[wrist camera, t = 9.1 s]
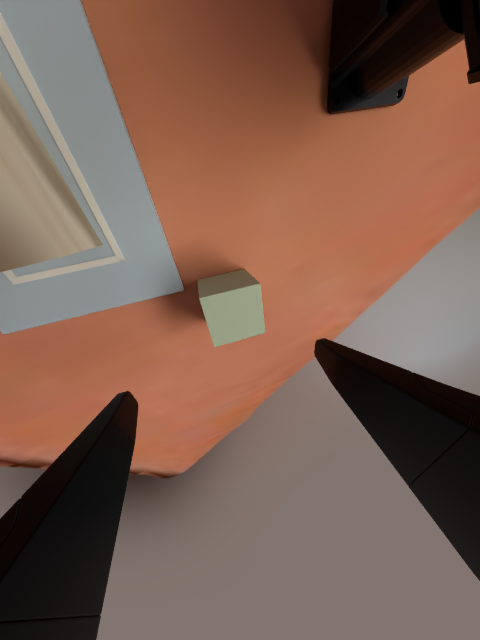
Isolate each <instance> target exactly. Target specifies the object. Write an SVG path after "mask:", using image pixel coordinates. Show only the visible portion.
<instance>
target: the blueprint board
mask: <svg viewBox="0 0 480 640" xmlns="http://www.w3.org/2000/svg"><path fill="white" fill-rule="evenodd" d="M0 71H1V73H2V75H3V76H4V78H5V80H6V82H7V83H8V85H9V87H10V88H11V90H12V92H13V93H14V95H15V97H16V98H17V100H18V102H19V104H20V105H21V107H22V109H23V110H24V112H25V114H26V115H27V117H28V119H29V121H30V122H31V124H32V126H33V127H34V129H35V131H36V132H37V134H38V136H39V137H40V139H41V141H42V143H43V144H44V146H45V148H46V149H47V151H48V153H49V154H50V156H51V158H52V160H53V161H54V163H55V165H56V166H57V168H58V170H59V171H60V173H61V175H62V177H63V178H64V180H65V182H66V183H67V185H68V187H69V188H70V190H71V192H72V193H73V195H74V197H75V199H76V200H77V202H78V204H79V205H80V207H81V209H82V210H83V212H84V214H85V216H86V217H87V219H88V221H89V222H90V224H91V226H92V227H93V229H94V231H95V232H96V234H97V236H98V238H99V239H100V241H101V243H102V244H103V245H101V246H98V247H95V248H91V249H88V250H84V251H81V252H77V253H74V254H70V255H67V256H63V257H59V258H55V259H51V260H47V261H43V262H40V263H36V264H32V265H28V266H24V267H20V268H16V269H12V270H8V271H4V272H0V332H2V333H3V334H8V333H12V332H16V331H20V330H24V329H28V328H32V327H36V326H40V325H45V324H49V323H53V322H57V321H61V320H65V319H69V318H73V317H77V316H81V315H86V314H90V313H94V312H98V311H102V310H106V309H110V308H114V307H118V306H122V305H127V304H131V303H135V302H139V301H143V300H147V299H151V298H155V297H159V296H163V295H168V294H172V293H176V292H180V291H184V287H183V284H182V281H181V278H180V275H179V273H178V270H177V267H176V264H175V262H174V259H173V256H172V253H171V250H170V248H169V245H168V242H167V239H166V236H165V234H164V231H163V228H162V225H161V223H160V220H159V217H158V214H157V211H156V209H155V206H154V203H153V200H152V197H151V195H150V192H149V189H148V186H147V184H146V181H145V178H144V175H143V172H142V170H141V167H140V164H139V161H138V158H137V156H136V153H135V150H134V147H133V145H132V142H131V139H130V136H129V133H128V131H127V128H126V125H125V122H124V119H123V117H122V114H121V111H120V108H119V106H118V103H117V100H116V97H115V94H114V92H113V89H112V86H111V83H110V80H109V78H108V75H107V72H106V69H105V67H104V64H103V61H102V58H101V55H100V53H99V50H98V47H97V44H96V41H95V39H94V36H93V33H92V30H91V28H90V25H89V22H88V19H87V16H86V14H85V11H84V8H83V5H82V2H81V0H0Z"/></svg>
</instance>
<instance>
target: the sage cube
mask: <svg viewBox="0 0 480 640" xmlns="http://www.w3.org/2000/svg"><path fill="white" fill-rule="evenodd" d="M197 281H198V292H199V300H200V303H201V306H202V309H203V312H204V315H205V319H206V322H207V325H208V328H209V331H210V335H211V338H212V341H213V344H214V347H217V346H221V345H224V344H228V343H231V342H235V341H238V340H242V339H245V338H249V337H252V336H256V335H259V334H263V333H265V324H264V315H263V305H262V296H261V286H260V283H259V282H258V281H257V280H256V279H255V278H254V277H253V276H252V275H251V274H250V273H248V272H247V271H246V270H245V269H242V270H238V271H234V272H229V273H225V274H221V275H217V276H212V277H208V278H204V279H199V280H197Z"/></svg>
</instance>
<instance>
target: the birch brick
mask: <svg viewBox="0 0 480 640" xmlns="http://www.w3.org/2000/svg"><path fill="white" fill-rule="evenodd" d="M101 245H103V244H102V243H101V241H100V239H99V238H98V236H97V234H96V232H95V231H94V229H93V227H92V226H91V224H90V222H89V221H88V219H87V217H86V216H85V214H84V212H83V210H82V209H81V207H80V205H79V204H78V202H77V200H76V199H75V197H74V195H73V193H72V192H71V190H70V188H69V187H68V185H67V183H66V182H65V180H64V178H63V177H62V175H61V173H60V171H59V170H58V168H57V166H56V165H55V163H54V161H53V160H52V158H51V156H50V154H49V153H48V151H47V149H46V148H45V146H44V144H43V143H42V141H41V139H40V137H39V136H38V134H37V132H36V131H35V129H34V127H33V126H32V124H31V122H30V121H29V119H28V117H27V115H26V114H25V112H24V110H23V109H22V107H21V105H20V104H19V102H18V100H17V98H16V97H15V95H14V93H13V92H12V90H11V88H10V87H9V85H8V83H7V82H6V80H5V78H4V76H3V75H2V73H1V71H0V272H4V271H8V270H12V269H16V268H20V267H24V266H28V265H32V264H36V263H40V262H43V261H47V260H51V259H55V258H59V257H63V256H67V255H70V254H74V253H77V252H81V251H84V250H88V249H91V248H95V247H98V246H101Z"/></svg>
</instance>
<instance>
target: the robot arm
mask: <svg viewBox="0 0 480 640" xmlns="http://www.w3.org/2000/svg"><path fill="white" fill-rule="evenodd" d="M462 40H465V46H466V52H467V58H468V65H469V71H468V72H467V77H468V83H469V84H472V83H476V82H480V0H334V5H333V12H332V27H331V43H330V59H329V69H330V71H329V86H328V102H327V109H328V112H329V113H330V114H338V113H345V112H352V111H359V110H366V109H373V108H380V107H387V106H393V105H395V104H397V103H399V102H400V101H401V100H402V99H403V97H404V95H405V92H406V87H407V82H408V78H409V75H411V74H412V73H414V72H415V71H417V70H418V69H420V68H421V67H423V66H424V65H426V64H427V63H429V62H430V61H432V60H433V59H435V58H436V57H438V56H439V55H441V54H442V53H444V52H445V51H447V50H448V49H450V48H451V47H453V46H455V45H456V44H458V43H459V42H461V41H462ZM397 93H398V96H397ZM334 100H335V101H336V107H335V106H334ZM314 354H315V357H316V358H317V360H318V362H319V363H320V365H321V367H322V368H323V370H324V372H325V373H326V375H327V377H328V378H329V380H330V381H331V383H332V384H333V386H334V387H335V389H336V390H337V391H338V392H339V394H340V395H341V397H342V398H343V399H344V401H345V402H346V403H347V405H348V406H349V407H350V409H351V410H352V411H353V413H354V414H355V415H356V417H357V418H358V419H359V421H360V422H361V423H362V425H363V426H364V427H365V429H366V430H367V431H368V433H369V434H370V435H371V437H372V438H373V439H374V441H375V442H376V443H377V445H378V446H379V447H380V449H381V450H382V451H383V453H384V454H385V455H386V457H387V458H388V459H389V461H390V462H391V463H392V465H393V466H394V467H395V469H396V470H397V471H398V473H399V474H400V476H401V477H402V478H403V480H404V481H405V482H406V483H407V485H408V486H409V488H410V489H411V490H412V492H413V493H414V494H415V496H416V497H417V498H418V500H419V501H420V502H421V504H422V505H423V506H424V508H425V509H426V511H427V512H428V513H429V514H430V516H431V517H432V519H433V520H434V521H435V522H436V524H437V525H438V526H439V528H440V529H441V531H442V532H443V533H444V535H445V536H446V537H447V538H448V540H449V541H450V543H451V544H452V545H453V547H454V548H455V549H456V551H457V552H458V553H459V555H460V556H461V557H462V559H463V560H464V561H465V563H466V564H467V565H468V567H469V568H470V569H471V570H472V572H473V573H474V574H475V576H476V577H477V578H478V579H479V580H480V396H478V395H475V394H472V393H469V392H466V391H463V390H460V389H457V388H454V387H452V386H449V385H446V384H443V383H440V382H437V381H435V380H432V379H429V378H427V377H424V376H421V375H419V374H416V373H412V372H411V371H408V370H406V369H403V368H401V367H398V366H395V365H393V364H390V363H388V362H385V361H382V360H380V359H377V358H374V357H372V356H369V355H367V354H364V353H361V352H359V351H356V350H354V349H351V348H348V347H346V346H343V345H341V344H338V343H335V342H333V341H330V340H328V339H325V338H323V339H319V340H316V342H315V350H314ZM137 416H138V402H137V401H136V399H135V398H134V396H133V395H132V394H131V392H129V391H126V392H122V393H119V394H117V395H116V396H115V397H114V398H113V400H112V401H111V402H110V403H109V404H108V405H107V406H106V407H105V408H104V409H103V410H102V411H101V412H100V413H99V414H98V415H97V417H96V418H95V419H94V420H93V421H92V422H91V423H90V424H89V425H88V426H87V427H86V428H85V429H84V430H83V431H82V432H81V434H80V435H79V436H78V437H77V438H76V439H75V440H74V441H73V442H72V443H71V444H70V445H69V446H68V447H67V448H66V450H65V451H64V452H63V453H62V454H61V455H60V456H59V457H58V458H57V459H56V460H55V461H54V462H53V463H52V464H51V465H50V467H49V468H48V469H47V470H46V471H45V472H44V473H43V474H42V475H41V476H40V477H39V478H38V479H37V480H36V481H35V483H34V484H33V485H32V486H31V487H30V488H29V489H28V490H27V491H26V492H25V493H24V494H23V495H22V497H21V499H19V500H18V501H17V502H16V503H15V504H14V505H13V506H12V507H11V508H10V509H9V510H8V511H7V512H6V513H5V514H4V515H3V516H2V517H1V519H0V640H96V638H97V633H98V628H99V623H100V617H101V616H100V614H101V612H102V607H103V602H104V597H105V592H106V587H107V582H108V577H109V572H110V566H111V561H112V556H113V551H114V546H115V541H116V535H117V531H118V526H119V521H120V516H121V511H122V506H123V501H124V496H125V491H126V486H127V481H128V476H129V471H130V466H131V461H132V456H133V451H134V445H135V438H136V427H137Z"/></svg>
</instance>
